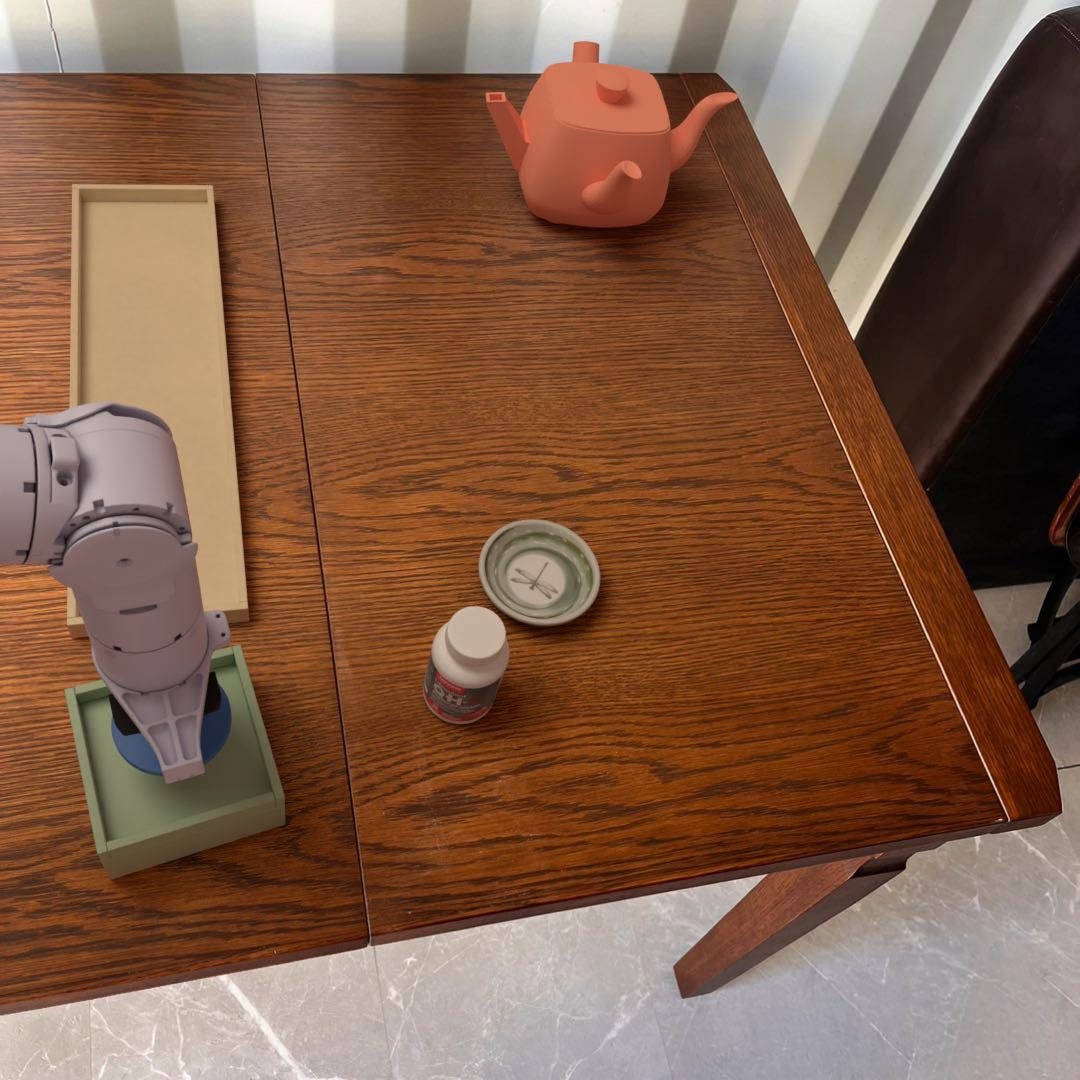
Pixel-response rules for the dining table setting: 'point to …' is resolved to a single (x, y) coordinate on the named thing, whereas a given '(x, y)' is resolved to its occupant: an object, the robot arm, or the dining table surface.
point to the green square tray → (183, 806)
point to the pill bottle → (466, 665)
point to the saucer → (539, 572)
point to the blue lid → (211, 740)
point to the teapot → (597, 141)
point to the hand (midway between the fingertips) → (170, 711)
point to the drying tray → (162, 353)
